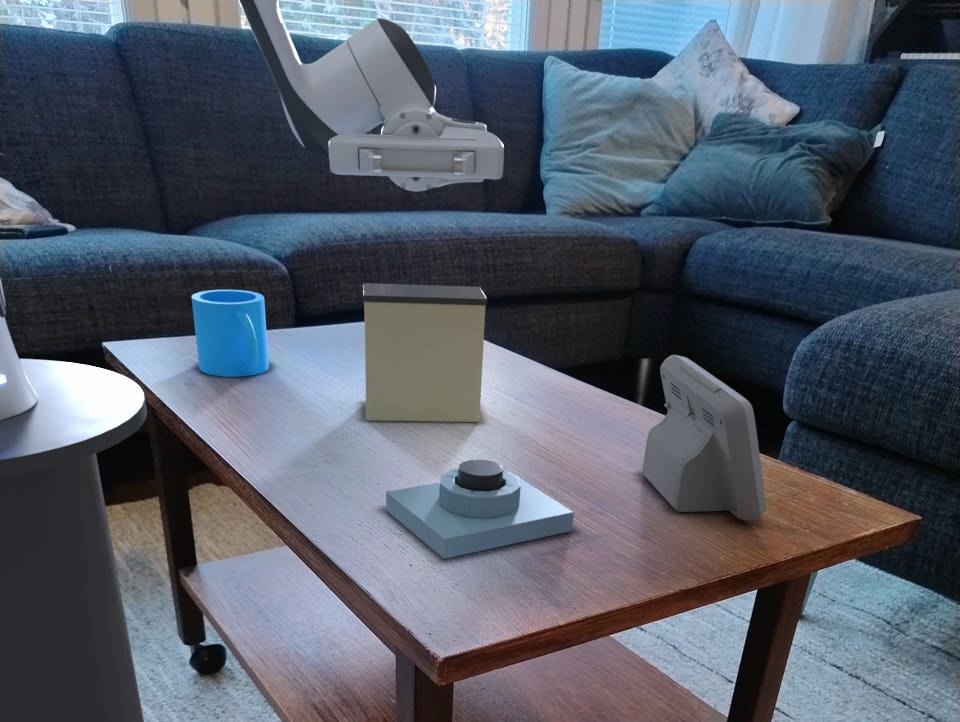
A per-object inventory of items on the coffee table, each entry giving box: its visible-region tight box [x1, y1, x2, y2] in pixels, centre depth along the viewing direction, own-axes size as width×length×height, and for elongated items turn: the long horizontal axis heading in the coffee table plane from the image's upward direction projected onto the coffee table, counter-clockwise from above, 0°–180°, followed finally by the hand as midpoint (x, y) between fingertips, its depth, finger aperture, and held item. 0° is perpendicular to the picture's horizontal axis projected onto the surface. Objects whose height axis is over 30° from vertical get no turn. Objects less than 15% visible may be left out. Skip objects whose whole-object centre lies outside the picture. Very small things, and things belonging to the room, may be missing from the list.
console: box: [362, 282, 488, 423], centre depth 95 cm, size 6×12×13 cm, turn 97°
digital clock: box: [641, 354, 767, 522], centre depth 80 cm, size 16×9×11 cm, turn 179°
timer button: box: [457, 459, 504, 491], centre depth 73 cm, size 4×4×2 cm
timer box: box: [385, 467, 575, 560], centre depth 74 cm, size 12×10×4 cm
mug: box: [191, 289, 270, 378], centre depth 106 cm, size 12×8×8 cm
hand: (418, 166), depth 100 cm, fingers open, 8 cm apart
